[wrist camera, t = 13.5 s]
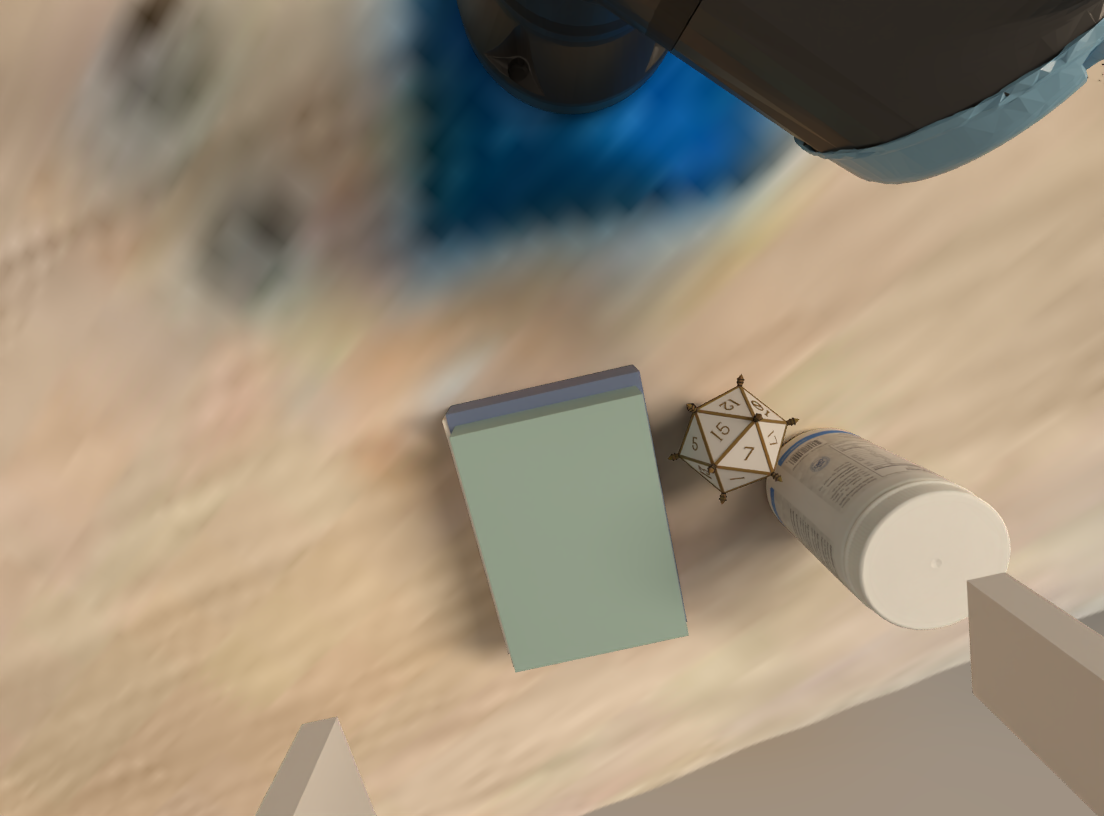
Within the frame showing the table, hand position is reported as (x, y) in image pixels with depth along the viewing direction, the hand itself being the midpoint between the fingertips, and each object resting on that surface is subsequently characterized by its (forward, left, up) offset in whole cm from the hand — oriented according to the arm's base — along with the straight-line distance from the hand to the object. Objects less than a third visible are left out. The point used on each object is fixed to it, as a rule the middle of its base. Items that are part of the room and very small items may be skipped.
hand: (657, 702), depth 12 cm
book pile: (+11, -2, -35) cm, 36 cm away
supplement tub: (+13, +19, -35) cm, 42 cm away
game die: (+9, +13, -26) cm, 31 cm away
